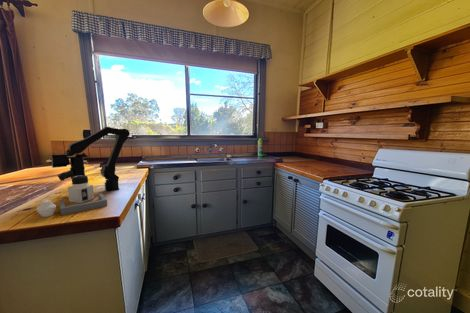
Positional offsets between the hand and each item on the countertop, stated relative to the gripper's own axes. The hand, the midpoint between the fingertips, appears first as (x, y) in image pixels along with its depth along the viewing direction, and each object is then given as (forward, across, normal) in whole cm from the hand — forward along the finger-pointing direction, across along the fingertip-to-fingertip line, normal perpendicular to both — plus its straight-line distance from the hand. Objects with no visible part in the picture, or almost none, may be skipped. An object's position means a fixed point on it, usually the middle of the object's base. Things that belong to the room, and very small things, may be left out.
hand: (80, 192), depth 109 cm
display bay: (+2, +20, 0) cm, 20 cm away
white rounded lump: (+2, +23, -13) cm, 27 cm away
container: (+2, +10, 0) cm, 10 cm away
